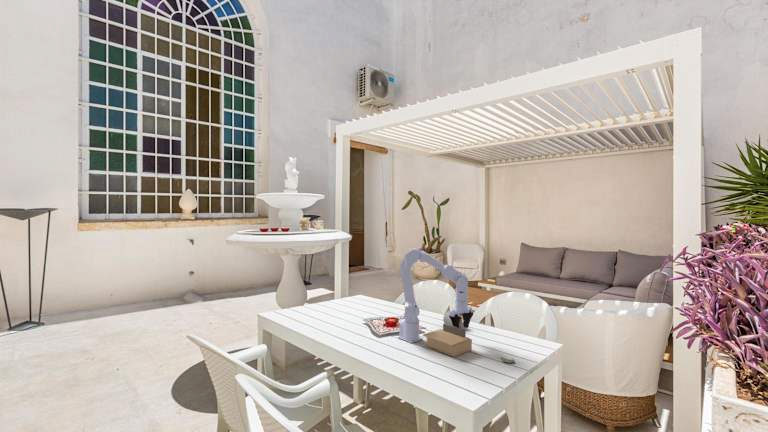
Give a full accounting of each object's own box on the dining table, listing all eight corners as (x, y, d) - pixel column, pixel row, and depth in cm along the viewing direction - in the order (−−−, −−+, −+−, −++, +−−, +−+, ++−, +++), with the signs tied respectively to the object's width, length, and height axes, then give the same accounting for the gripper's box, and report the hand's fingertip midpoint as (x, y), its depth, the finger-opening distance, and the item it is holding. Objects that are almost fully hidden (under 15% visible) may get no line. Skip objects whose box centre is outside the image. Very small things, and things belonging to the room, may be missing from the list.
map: (503, 364, 146) (503, 362, 146) (496, 346, 167) (496, 344, 167) (516, 365, 146) (516, 363, 145) (508, 347, 166) (508, 345, 166)
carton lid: (422, 335, 163) (423, 327, 163) (441, 330, 171) (441, 322, 171) (451, 346, 151) (451, 337, 151) (469, 339, 159) (470, 331, 159)
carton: (426, 346, 165) (427, 335, 165) (443, 340, 172) (444, 330, 172) (454, 357, 152) (454, 345, 152) (471, 350, 160) (471, 339, 160)
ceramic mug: (453, 329, 188) (453, 315, 188) (442, 325, 195) (443, 311, 195) (467, 326, 194) (468, 312, 194) (456, 322, 201) (457, 309, 201)
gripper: (458, 304, 160) (458, 334, 160) (477, 299, 170) (477, 328, 170) (446, 301, 166) (446, 330, 166) (465, 296, 175) (465, 324, 175)
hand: (461, 329), depth 168 cm, fingers open, 7 cm apart
